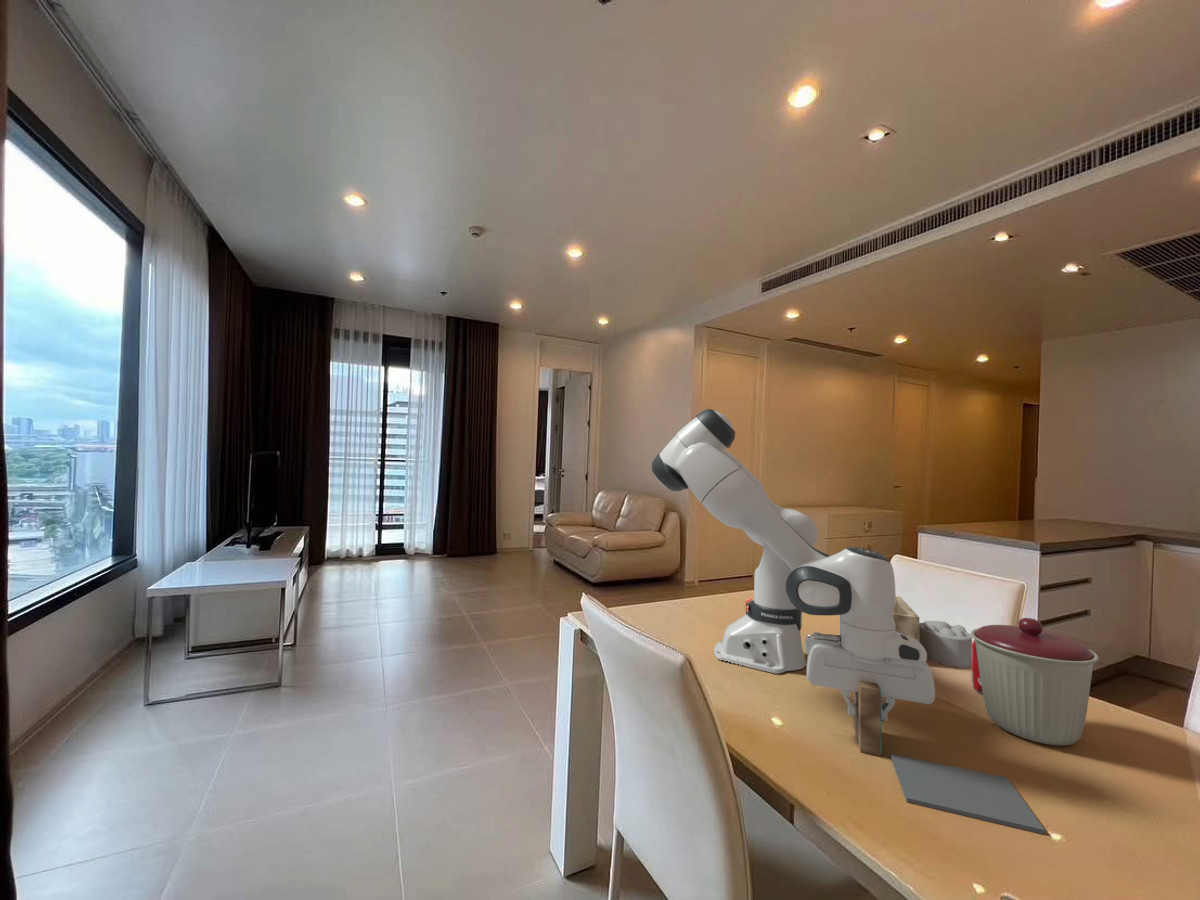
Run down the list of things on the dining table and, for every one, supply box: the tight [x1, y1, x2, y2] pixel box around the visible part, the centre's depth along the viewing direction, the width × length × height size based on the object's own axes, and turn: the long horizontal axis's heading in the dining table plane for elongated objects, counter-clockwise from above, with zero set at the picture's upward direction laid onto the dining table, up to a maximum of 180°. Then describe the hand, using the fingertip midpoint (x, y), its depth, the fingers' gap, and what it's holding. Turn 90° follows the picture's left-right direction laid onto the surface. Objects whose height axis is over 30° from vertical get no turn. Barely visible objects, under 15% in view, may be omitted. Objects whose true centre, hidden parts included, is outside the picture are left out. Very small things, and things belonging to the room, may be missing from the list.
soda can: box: [970, 639, 983, 696], centre depth 107 cm, size 7×7×12 cm
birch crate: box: [893, 595, 920, 643], centre depth 134 cm, size 12×22×12 cm, turn 159°
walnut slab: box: [853, 681, 883, 757], centre depth 86 cm, size 3×9×11 cm, turn 159°
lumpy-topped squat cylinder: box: [919, 620, 973, 669], centre depth 127 cm, size 10×13×9 cm
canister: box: [970, 617, 1099, 747], centre depth 92 cm, size 18×18×21 cm
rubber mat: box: [889, 753, 1046, 835], centre depth 73 cm, size 16×12×1 cm
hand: (867, 717), depth 86 cm, fingers closed on walnut slab, 3 cm apart
